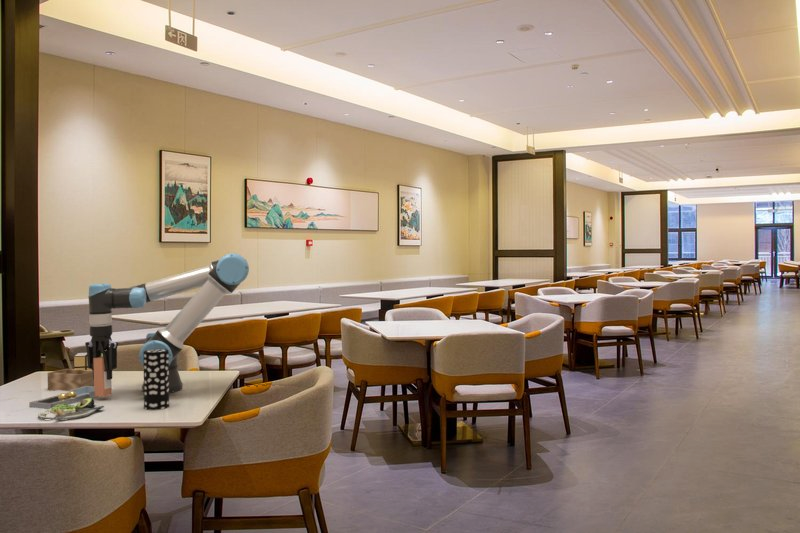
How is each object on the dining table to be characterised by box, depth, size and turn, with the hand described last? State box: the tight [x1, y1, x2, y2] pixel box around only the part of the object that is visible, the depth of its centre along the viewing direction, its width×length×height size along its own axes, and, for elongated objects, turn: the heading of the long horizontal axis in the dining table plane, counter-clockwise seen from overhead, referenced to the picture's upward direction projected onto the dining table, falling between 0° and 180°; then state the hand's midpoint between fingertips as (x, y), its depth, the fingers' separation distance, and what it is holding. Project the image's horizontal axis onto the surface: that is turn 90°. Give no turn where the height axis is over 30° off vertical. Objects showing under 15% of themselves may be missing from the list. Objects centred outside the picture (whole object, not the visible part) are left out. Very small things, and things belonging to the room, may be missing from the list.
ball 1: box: [58, 392, 68, 401], centre depth 228 cm, size 3×3×3 cm
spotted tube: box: [143, 349, 170, 411], centre depth 221 cm, size 8×8×20 cm
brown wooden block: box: [47, 368, 94, 392], centre depth 253 cm, size 16×9×7 cm, turn 70°
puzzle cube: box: [72, 352, 103, 371], centre depth 281 cm, size 10×10×10 cm
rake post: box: [94, 355, 112, 397], centre depth 232 cm, size 4×4×14 cm
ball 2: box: [67, 391, 77, 399], centre depth 232 cm, size 3×3×3 cm
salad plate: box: [37, 398, 105, 420], centre depth 211 cm, size 19×18×5 cm
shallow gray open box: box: [28, 392, 90, 410], centre depth 227 cm, size 10×17×2 cm, turn 160°
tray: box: [69, 386, 100, 399], centre depth 239 cm, size 10×8×3 cm
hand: (102, 387), depth 232 cm, fingers closed on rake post, 4 cm apart
